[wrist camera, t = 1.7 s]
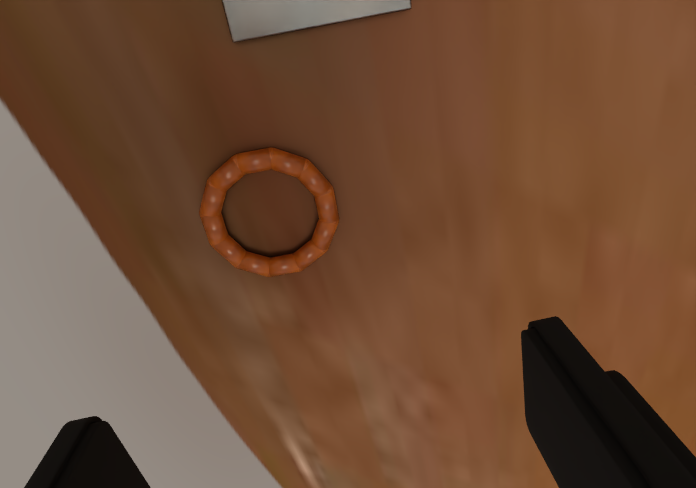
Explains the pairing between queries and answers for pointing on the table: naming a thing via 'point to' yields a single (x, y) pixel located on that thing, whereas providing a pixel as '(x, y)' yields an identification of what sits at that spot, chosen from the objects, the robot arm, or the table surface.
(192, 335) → the table surface
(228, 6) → the post
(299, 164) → the orange ring
